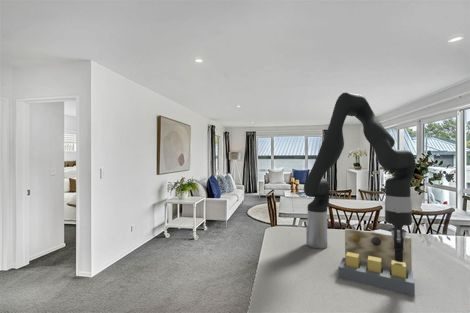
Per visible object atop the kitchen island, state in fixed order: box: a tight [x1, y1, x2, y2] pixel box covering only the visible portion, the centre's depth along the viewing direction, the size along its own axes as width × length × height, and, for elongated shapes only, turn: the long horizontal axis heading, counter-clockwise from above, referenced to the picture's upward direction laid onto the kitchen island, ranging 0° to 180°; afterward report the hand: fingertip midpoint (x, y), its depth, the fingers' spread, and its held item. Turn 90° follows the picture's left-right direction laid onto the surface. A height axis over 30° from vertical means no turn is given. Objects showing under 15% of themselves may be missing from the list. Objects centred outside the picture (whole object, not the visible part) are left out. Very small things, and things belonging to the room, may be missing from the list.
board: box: [337, 257, 416, 297], centre depth 86 cm, size 22×10×4 cm, turn 57°
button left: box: [346, 252, 359, 268], centre depth 89 cm, size 4×4×5 cm
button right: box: [391, 260, 406, 278], centre depth 82 cm, size 4×4×5 cm
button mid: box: [368, 256, 382, 273], centre depth 86 cm, size 4×4×5 cm
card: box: [344, 228, 413, 271], centre depth 95 cm, size 22×4×14 cm, turn 57°
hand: (398, 261), depth 82 cm, fingers closed
